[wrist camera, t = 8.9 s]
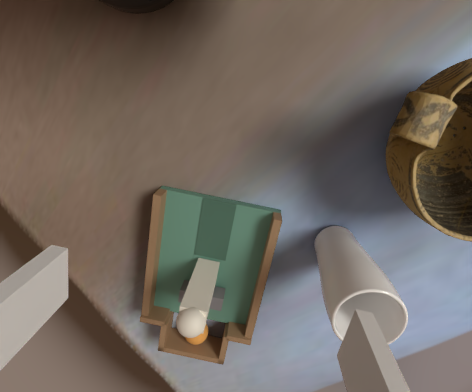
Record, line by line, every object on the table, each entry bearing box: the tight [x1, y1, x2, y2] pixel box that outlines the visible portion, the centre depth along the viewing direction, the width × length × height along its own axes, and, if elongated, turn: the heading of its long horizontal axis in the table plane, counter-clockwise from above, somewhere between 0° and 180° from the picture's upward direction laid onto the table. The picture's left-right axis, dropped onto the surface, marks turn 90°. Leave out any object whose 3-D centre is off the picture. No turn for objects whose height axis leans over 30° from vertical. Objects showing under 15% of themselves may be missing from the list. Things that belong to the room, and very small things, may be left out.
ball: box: [185, 324, 208, 345], centre depth 46 cm, size 4×4×4 cm
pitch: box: [140, 186, 282, 364], centre depth 43 cm, size 24×16×4 cm, turn 169°
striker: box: [176, 258, 226, 338], centre depth 38 cm, size 6×6×12 cm
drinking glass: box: [314, 226, 408, 344], centre depth 34 cm, size 7×7×15 cm
